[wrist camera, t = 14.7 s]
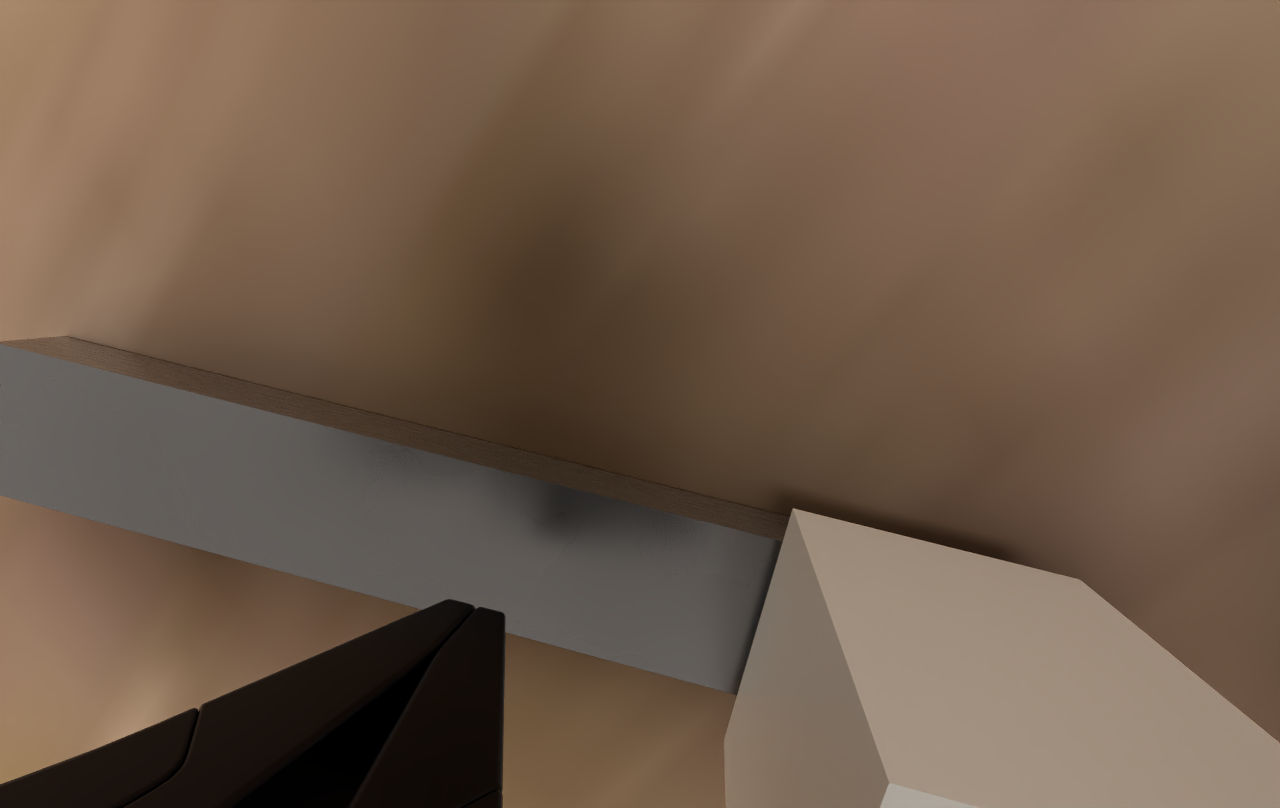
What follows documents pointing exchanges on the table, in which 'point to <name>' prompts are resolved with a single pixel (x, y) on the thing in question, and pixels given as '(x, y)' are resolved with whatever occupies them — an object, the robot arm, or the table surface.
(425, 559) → the rail
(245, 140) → the table surface
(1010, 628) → the white rectangular block
